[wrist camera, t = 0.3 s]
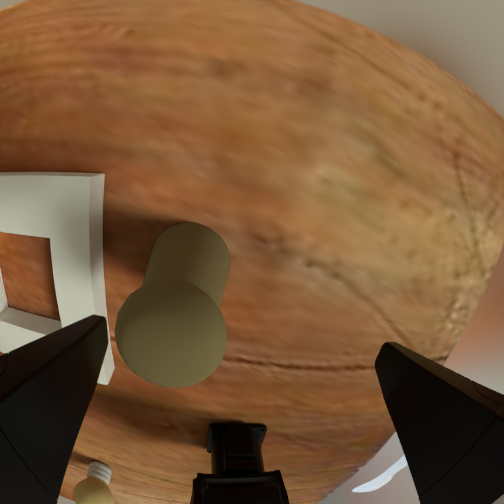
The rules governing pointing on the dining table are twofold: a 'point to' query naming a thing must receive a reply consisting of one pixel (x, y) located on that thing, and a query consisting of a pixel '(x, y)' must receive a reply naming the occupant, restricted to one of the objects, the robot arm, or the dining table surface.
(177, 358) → the olive green peg
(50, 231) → the socket board
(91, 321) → the robot arm
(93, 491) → the light bulb
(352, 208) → the dining table surface
